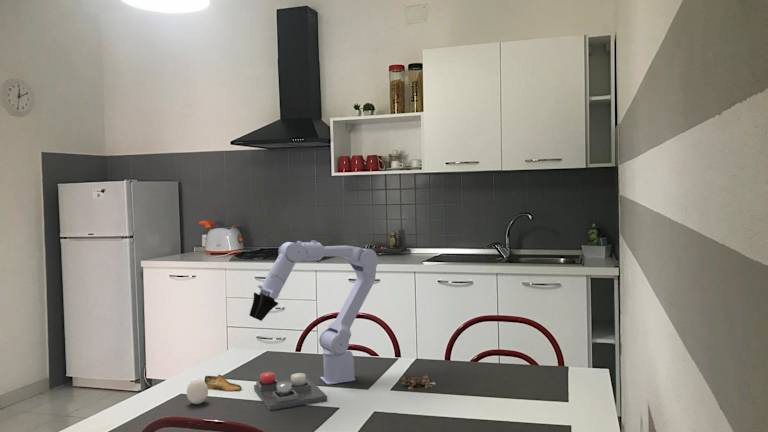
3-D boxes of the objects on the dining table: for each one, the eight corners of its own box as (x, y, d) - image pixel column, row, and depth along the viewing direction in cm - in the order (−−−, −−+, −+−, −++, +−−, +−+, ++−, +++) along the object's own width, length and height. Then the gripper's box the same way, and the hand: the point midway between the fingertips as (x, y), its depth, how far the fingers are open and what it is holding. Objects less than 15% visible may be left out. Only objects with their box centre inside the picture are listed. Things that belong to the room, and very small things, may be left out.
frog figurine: (409, 394, 195) (408, 382, 194) (392, 384, 206) (391, 372, 205) (442, 388, 199) (442, 376, 199) (424, 378, 210) (424, 366, 210)
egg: (209, 399, 196) (208, 374, 195) (207, 406, 190) (206, 380, 189) (188, 401, 195) (187, 376, 194) (186, 408, 189) (184, 382, 188)
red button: (273, 379, 203) (273, 371, 203) (276, 382, 199) (276, 374, 199) (259, 381, 201) (259, 373, 201) (262, 385, 197) (262, 377, 197)
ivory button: (303, 380, 201) (303, 372, 200) (307, 384, 197) (307, 376, 196) (289, 382, 199) (289, 374, 199) (293, 386, 195) (293, 378, 195)
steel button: (290, 389, 192) (289, 381, 192) (294, 393, 188) (293, 385, 188) (275, 391, 191) (274, 383, 190) (279, 396, 187) (278, 387, 186)
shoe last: (237, 393, 201) (236, 378, 201) (201, 388, 207) (201, 374, 207) (245, 389, 205) (245, 374, 205) (210, 384, 211) (210, 370, 211)
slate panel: (306, 381, 210) (306, 372, 210) (327, 400, 190) (326, 390, 190) (254, 389, 203) (253, 380, 203) (269, 410, 184) (269, 400, 184)
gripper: (260, 271, 204) (238, 310, 201) (271, 272, 191) (248, 314, 187) (279, 281, 206) (258, 320, 203) (292, 283, 193) (269, 325, 190)
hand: (255, 318), depth 195 cm, fingers open, 7 cm apart
